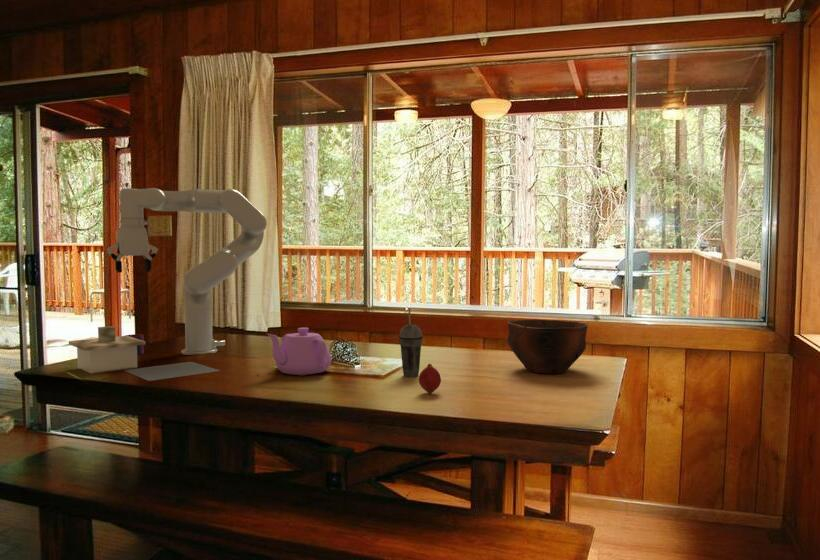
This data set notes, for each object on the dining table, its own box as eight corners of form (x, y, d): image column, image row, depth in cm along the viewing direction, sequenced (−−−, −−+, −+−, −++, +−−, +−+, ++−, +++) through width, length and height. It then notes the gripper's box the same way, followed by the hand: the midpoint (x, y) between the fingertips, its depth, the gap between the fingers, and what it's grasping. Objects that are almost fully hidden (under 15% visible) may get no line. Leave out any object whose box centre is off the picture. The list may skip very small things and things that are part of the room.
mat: (191, 363, 217) (191, 361, 217) (220, 372, 201) (220, 370, 201) (123, 372, 203) (123, 370, 203) (148, 382, 186) (148, 380, 186)
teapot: (247, 373, 199) (246, 329, 198) (303, 364, 215) (303, 322, 214) (291, 383, 184) (290, 335, 183) (348, 372, 200) (347, 328, 199)
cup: (147, 353, 239) (147, 334, 239) (126, 357, 230) (126, 338, 230) (134, 352, 242) (133, 333, 241) (112, 356, 233) (111, 337, 232)
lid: (126, 338, 220) (126, 322, 220) (145, 344, 207) (145, 327, 206) (68, 344, 208) (68, 327, 208) (84, 350, 195) (84, 332, 195)
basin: (123, 363, 218) (122, 339, 217) (137, 369, 207) (136, 344, 207) (77, 368, 209) (77, 344, 208) (90, 375, 198) (89, 349, 198)
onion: (418, 391, 173) (417, 361, 173) (439, 390, 174) (439, 361, 173) (420, 396, 168) (419, 365, 167) (442, 395, 168) (442, 365, 168)
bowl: (594, 366, 207) (594, 319, 206) (580, 381, 184) (580, 328, 184) (518, 361, 217) (518, 316, 217) (496, 374, 195) (496, 324, 194)
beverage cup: (426, 374, 197) (425, 308, 195) (418, 378, 190) (418, 310, 189) (403, 372, 199) (403, 307, 198) (395, 377, 192) (394, 310, 191)
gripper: (153, 224, 237) (154, 271, 238) (103, 223, 226) (104, 272, 227) (160, 223, 232) (162, 271, 233) (109, 223, 220) (111, 273, 221)
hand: (133, 272), depth 230 cm, fingers open, 9 cm apart
